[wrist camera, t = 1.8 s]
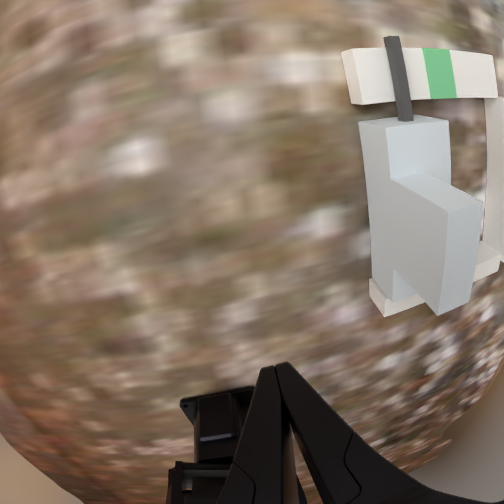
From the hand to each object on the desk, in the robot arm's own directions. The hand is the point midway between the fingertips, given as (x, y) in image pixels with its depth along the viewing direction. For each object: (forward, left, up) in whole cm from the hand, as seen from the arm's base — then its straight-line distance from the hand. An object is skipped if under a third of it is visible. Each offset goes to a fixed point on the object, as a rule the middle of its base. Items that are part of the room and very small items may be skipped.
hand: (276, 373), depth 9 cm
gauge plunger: (+2, -9, -10) cm, 14 cm away
